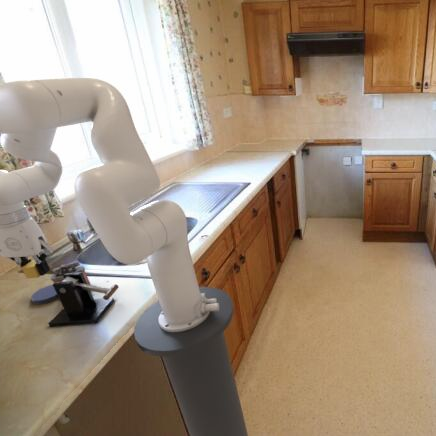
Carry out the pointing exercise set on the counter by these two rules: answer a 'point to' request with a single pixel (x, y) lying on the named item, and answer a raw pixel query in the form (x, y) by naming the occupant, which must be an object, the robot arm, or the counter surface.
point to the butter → (31, 270)
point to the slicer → (78, 303)
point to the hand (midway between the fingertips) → (38, 272)
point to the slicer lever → (93, 287)
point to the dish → (44, 295)
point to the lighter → (67, 269)
